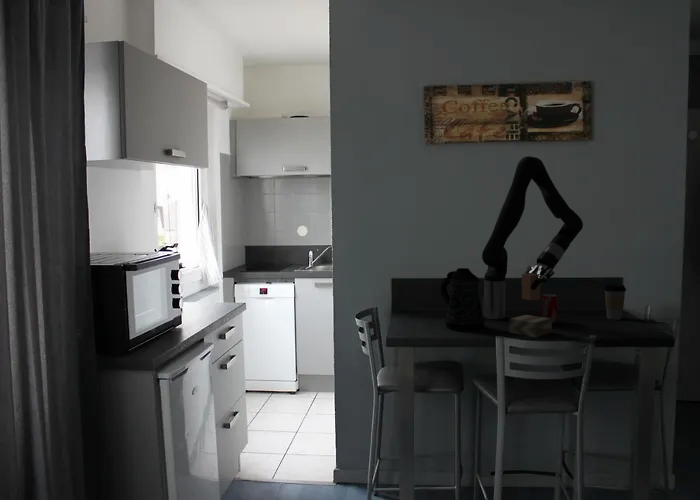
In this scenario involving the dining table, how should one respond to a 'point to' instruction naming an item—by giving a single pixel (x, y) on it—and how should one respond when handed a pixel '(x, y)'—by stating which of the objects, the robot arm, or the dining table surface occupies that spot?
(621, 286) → the coffee cup
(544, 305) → the soda can
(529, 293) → the terracotta block
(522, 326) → the birch box
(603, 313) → the dining table surface
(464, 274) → the beer stein
